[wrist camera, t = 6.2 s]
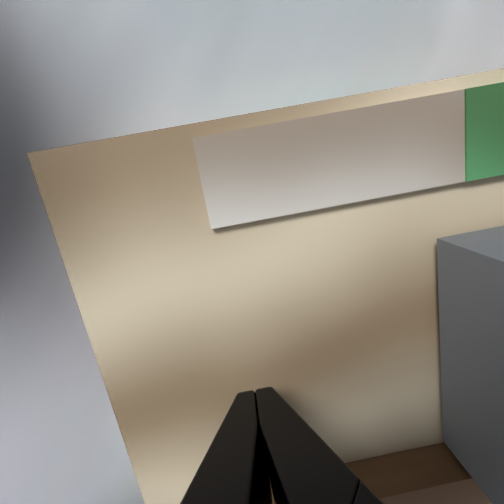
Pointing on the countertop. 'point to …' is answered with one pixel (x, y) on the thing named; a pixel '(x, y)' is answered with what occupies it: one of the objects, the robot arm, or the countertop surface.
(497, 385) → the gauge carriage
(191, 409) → the bench
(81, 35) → the countertop surface
